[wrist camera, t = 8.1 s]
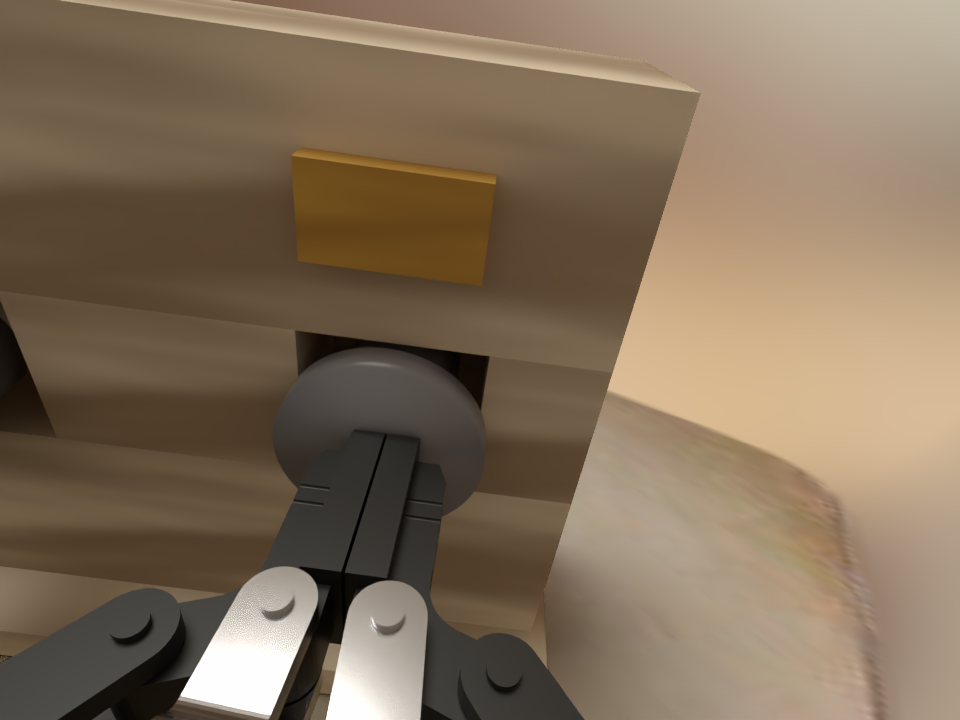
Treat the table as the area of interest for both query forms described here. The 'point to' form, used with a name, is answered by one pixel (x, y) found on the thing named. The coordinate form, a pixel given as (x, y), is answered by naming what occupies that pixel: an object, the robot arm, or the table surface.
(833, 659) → the table surface
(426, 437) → the grey rounded knob
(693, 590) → the table surface
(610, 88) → the birch console
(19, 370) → the grey button
